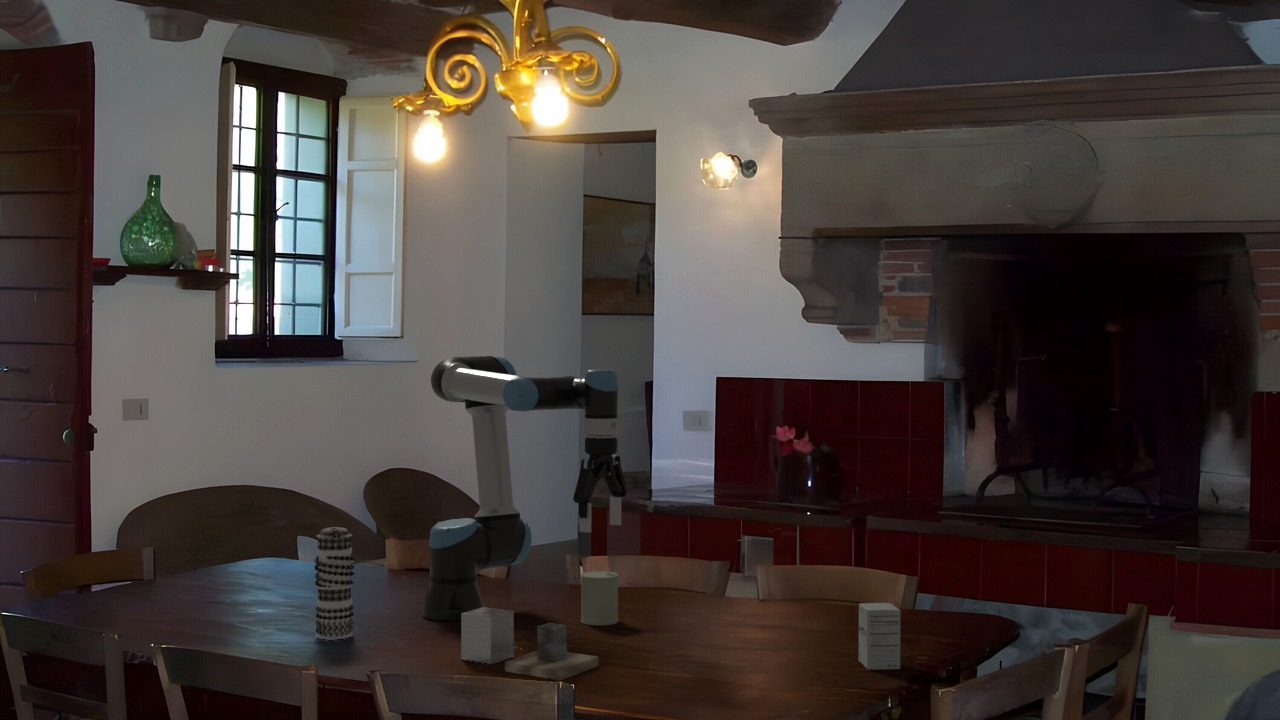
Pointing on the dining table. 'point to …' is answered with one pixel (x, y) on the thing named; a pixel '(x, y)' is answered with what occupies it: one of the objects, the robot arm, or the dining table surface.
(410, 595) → the dining table surface
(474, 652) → the grey foam block
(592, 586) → the can
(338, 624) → the white and black cylinder
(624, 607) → the dining table surface
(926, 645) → the dining table surface
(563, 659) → the post board
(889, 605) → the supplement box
